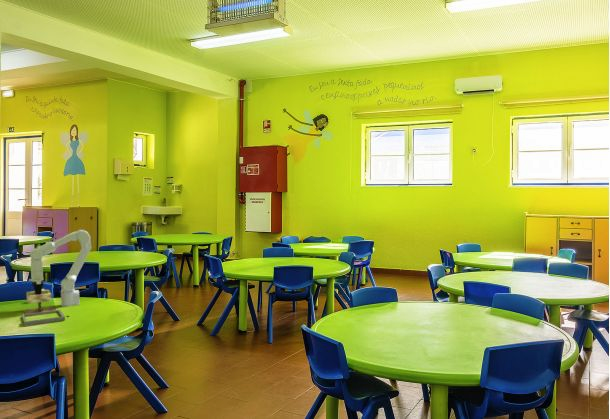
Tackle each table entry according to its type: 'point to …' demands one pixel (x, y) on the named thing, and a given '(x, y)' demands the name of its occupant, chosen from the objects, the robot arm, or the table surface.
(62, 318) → the tray
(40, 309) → the stake board
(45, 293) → the cream square frame
